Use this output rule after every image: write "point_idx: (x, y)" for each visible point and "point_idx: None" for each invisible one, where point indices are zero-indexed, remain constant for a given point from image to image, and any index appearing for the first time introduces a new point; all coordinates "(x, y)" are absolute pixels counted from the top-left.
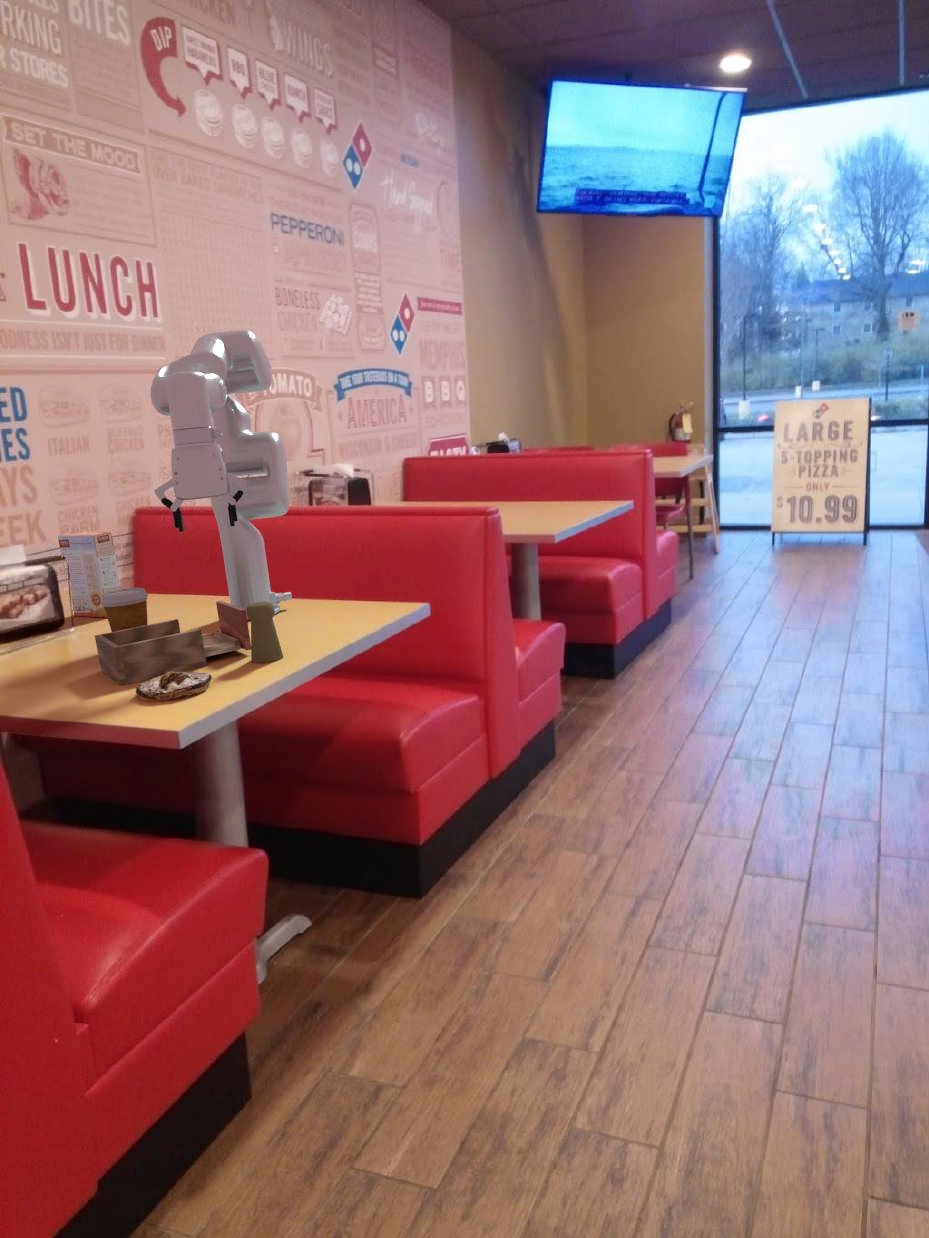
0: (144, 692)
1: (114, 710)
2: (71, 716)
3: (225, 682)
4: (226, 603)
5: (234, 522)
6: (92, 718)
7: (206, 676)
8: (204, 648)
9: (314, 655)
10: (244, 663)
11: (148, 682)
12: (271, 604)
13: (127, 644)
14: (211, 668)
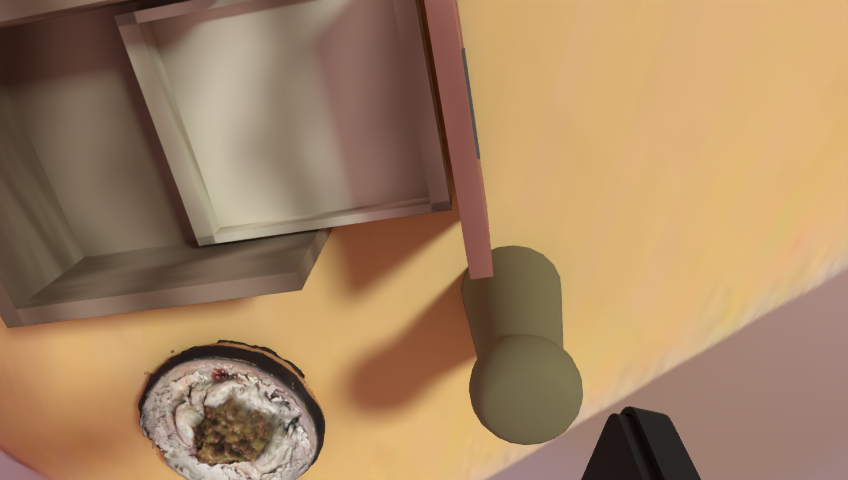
0: (163, 447)
1: (109, 456)
2: (17, 436)
3: (359, 425)
4: (451, 40)
5: (672, 431)
6: (71, 476)
7: (310, 437)
8: (322, 227)
9: (636, 350)
10: (439, 288)
11: (164, 384)
12: (571, 423)
13: (45, 312)
14: (341, 272)
